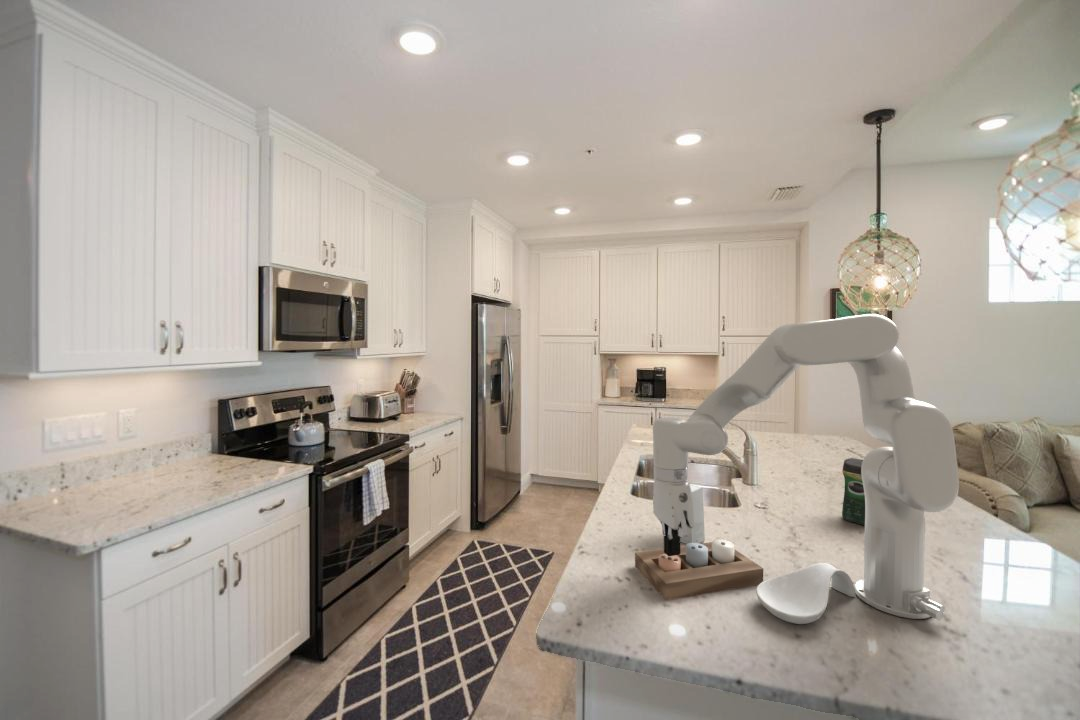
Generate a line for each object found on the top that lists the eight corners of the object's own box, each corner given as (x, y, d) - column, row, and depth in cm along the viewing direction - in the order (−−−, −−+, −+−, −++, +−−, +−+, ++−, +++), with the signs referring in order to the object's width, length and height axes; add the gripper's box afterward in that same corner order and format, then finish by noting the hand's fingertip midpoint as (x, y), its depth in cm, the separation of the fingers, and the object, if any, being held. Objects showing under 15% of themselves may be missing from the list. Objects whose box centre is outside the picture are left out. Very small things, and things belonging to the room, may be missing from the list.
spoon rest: (800, 642, 77) (800, 603, 76) (743, 606, 87) (743, 572, 87) (873, 606, 87) (874, 572, 87) (814, 578, 97) (815, 547, 97)
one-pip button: (738, 566, 99) (739, 546, 99) (720, 568, 97) (720, 549, 97) (724, 556, 103) (725, 537, 103) (707, 558, 102) (707, 539, 102)
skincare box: (705, 542, 115) (705, 487, 115) (690, 547, 112) (691, 491, 112) (679, 530, 122) (679, 479, 122) (665, 536, 119) (665, 483, 119)
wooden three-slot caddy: (763, 583, 95) (763, 568, 95) (666, 599, 89) (666, 583, 89) (721, 554, 108) (721, 540, 108) (635, 566, 103) (635, 552, 102)
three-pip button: (684, 582, 95) (685, 561, 95) (665, 585, 94) (665, 564, 94) (673, 571, 100) (673, 551, 100) (654, 573, 99) (654, 554, 99)
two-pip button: (712, 570, 97) (712, 550, 97) (693, 573, 96) (693, 552, 96) (699, 560, 102) (699, 540, 101) (681, 562, 100) (681, 543, 100)
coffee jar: (886, 523, 127) (888, 461, 126) (876, 530, 122) (877, 465, 122) (848, 513, 135) (849, 454, 134) (837, 519, 130) (838, 458, 130)
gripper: (706, 481, 90) (707, 567, 90) (668, 463, 104) (669, 537, 105) (674, 485, 88) (675, 573, 89) (639, 466, 103) (641, 541, 103)
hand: (672, 553), depth 97 cm, fingers closed
